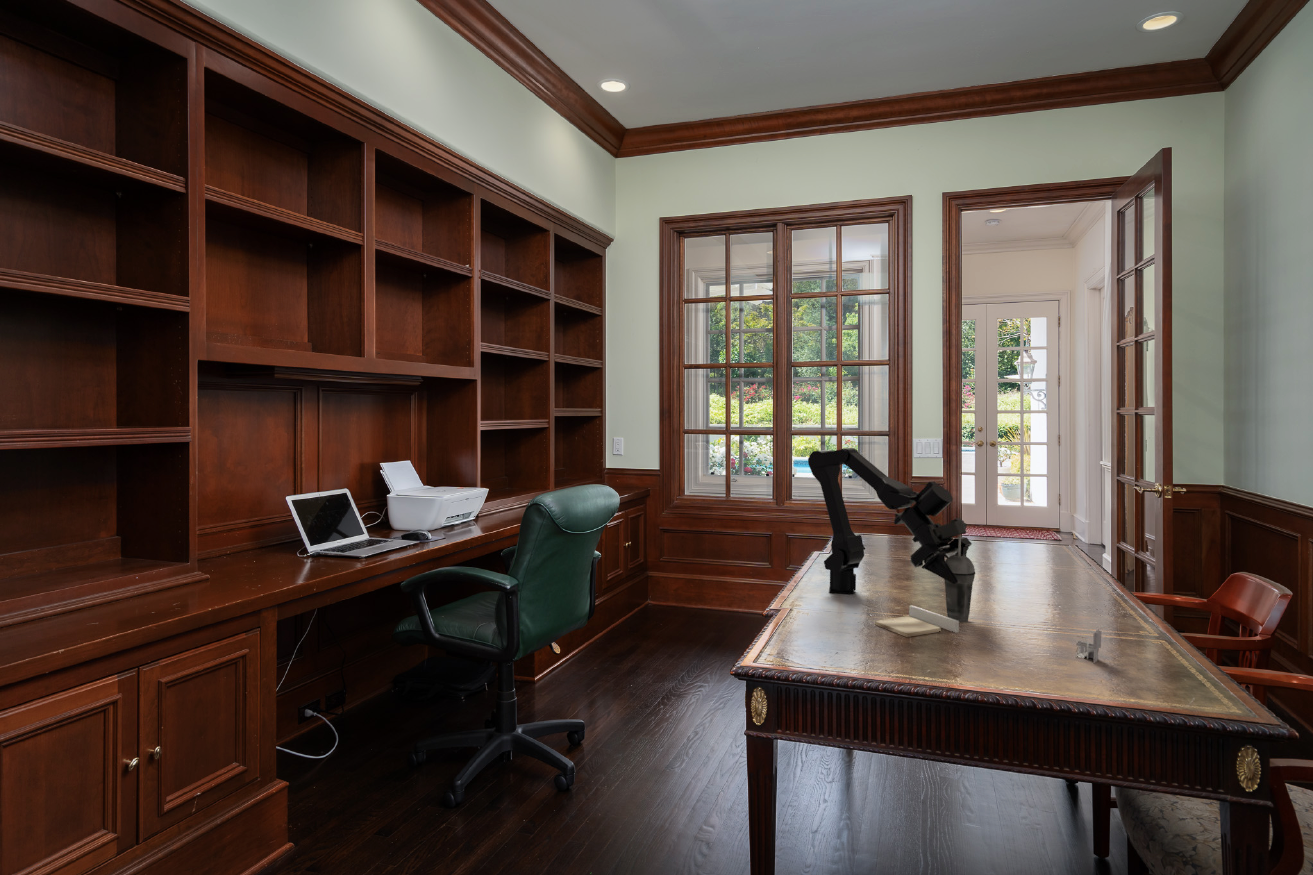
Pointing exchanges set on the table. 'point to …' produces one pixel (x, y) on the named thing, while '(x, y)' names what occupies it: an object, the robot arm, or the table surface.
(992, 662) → the table surface
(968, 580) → the beverage cup
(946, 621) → the divider wall
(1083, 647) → the architectural model
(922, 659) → the table surface
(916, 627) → the coaster
